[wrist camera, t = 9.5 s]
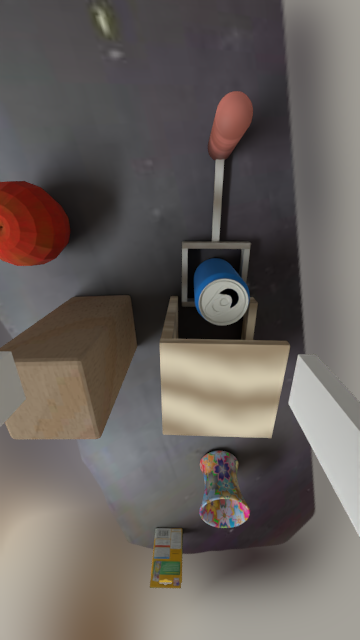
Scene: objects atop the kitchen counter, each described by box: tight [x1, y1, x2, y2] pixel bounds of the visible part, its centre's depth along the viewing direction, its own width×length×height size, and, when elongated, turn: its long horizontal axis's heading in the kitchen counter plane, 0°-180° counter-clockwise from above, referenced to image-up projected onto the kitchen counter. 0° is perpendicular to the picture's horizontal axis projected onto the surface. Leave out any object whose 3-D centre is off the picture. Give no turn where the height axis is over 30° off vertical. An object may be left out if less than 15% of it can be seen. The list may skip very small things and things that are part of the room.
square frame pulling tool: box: [182, 91, 253, 307], centre depth 30 cm, size 23×10×11 cm, turn 0°
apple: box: [0, 181, 70, 266], centre depth 31 cm, size 10×10×12 cm
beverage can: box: [194, 258, 250, 326], centre depth 33 cm, size 6×6×12 cm
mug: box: [200, 451, 250, 528], centre depth 51 cm, size 12×9×11 cm
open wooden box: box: [160, 296, 290, 438], centre depth 35 cm, size 13×13×16 cm
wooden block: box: [0, 295, 137, 439], centre depth 33 cm, size 10×10×20 cm
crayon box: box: [150, 528, 183, 588], centre depth 61 cm, size 7×3×12 cm, turn 93°
